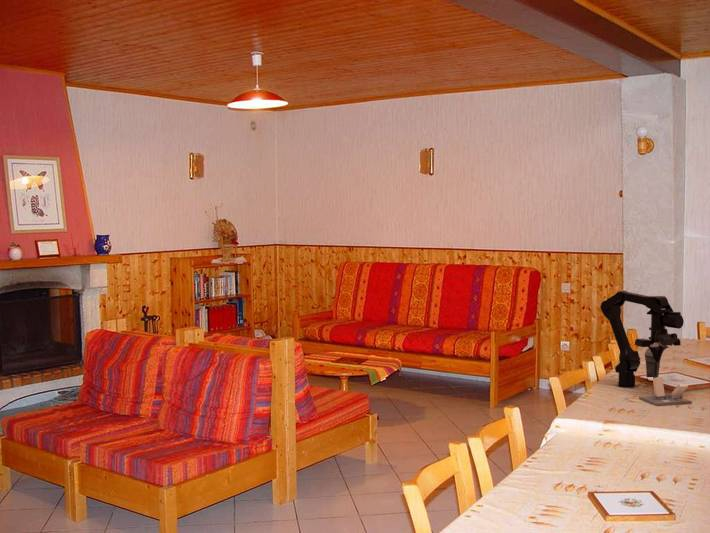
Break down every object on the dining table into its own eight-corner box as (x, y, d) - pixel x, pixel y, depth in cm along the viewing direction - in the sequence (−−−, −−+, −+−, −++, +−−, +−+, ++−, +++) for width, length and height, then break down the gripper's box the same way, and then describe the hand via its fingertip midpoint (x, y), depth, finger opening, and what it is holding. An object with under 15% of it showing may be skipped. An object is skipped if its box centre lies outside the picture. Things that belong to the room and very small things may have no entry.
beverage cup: (658, 379, 378) (659, 336, 377) (662, 382, 371) (663, 338, 369) (642, 379, 379) (643, 335, 377) (646, 382, 372) (647, 338, 370)
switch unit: (639, 399, 340) (639, 392, 339) (673, 396, 343) (673, 389, 343) (656, 406, 328) (656, 398, 328) (691, 403, 332) (691, 396, 332)
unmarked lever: (654, 398, 335) (652, 377, 337) (663, 397, 336) (660, 377, 337) (656, 398, 334) (654, 377, 335) (665, 397, 335) (662, 377, 336)
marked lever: (669, 395, 337) (678, 383, 331) (677, 394, 338) (686, 383, 332) (670, 398, 336) (680, 386, 330) (679, 397, 337) (688, 386, 331)
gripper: (649, 329, 340) (649, 366, 341) (689, 327, 344) (688, 364, 345) (634, 325, 350) (633, 362, 352) (672, 324, 355) (671, 359, 356)
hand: (657, 362), depth 351 cm, fingers closed
